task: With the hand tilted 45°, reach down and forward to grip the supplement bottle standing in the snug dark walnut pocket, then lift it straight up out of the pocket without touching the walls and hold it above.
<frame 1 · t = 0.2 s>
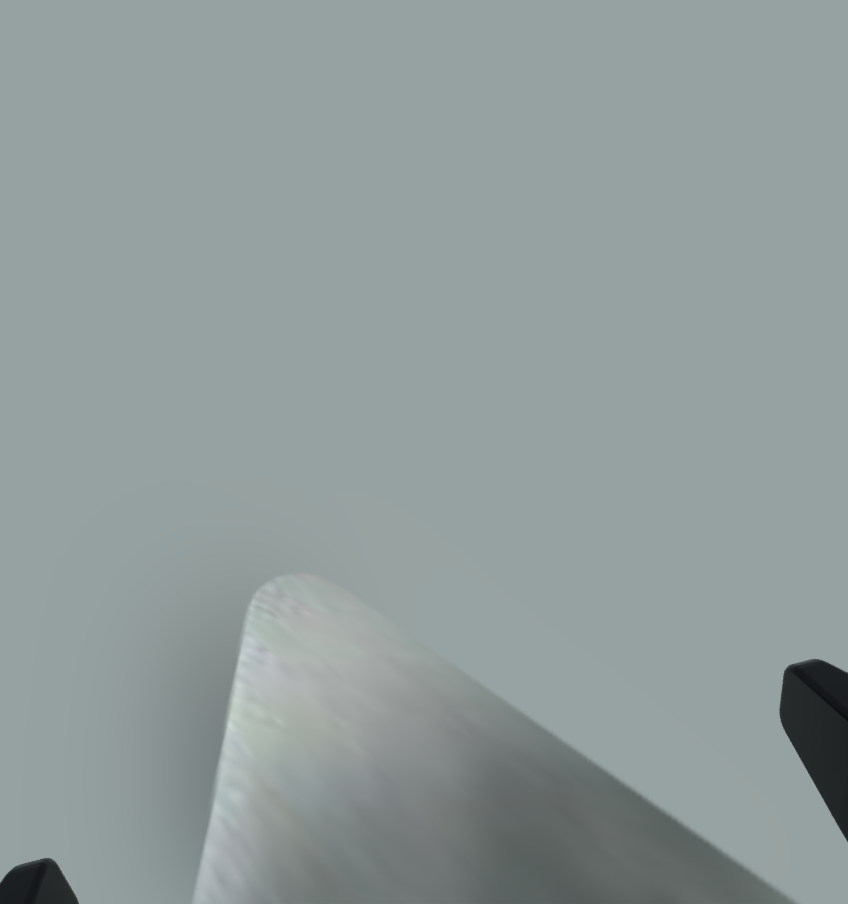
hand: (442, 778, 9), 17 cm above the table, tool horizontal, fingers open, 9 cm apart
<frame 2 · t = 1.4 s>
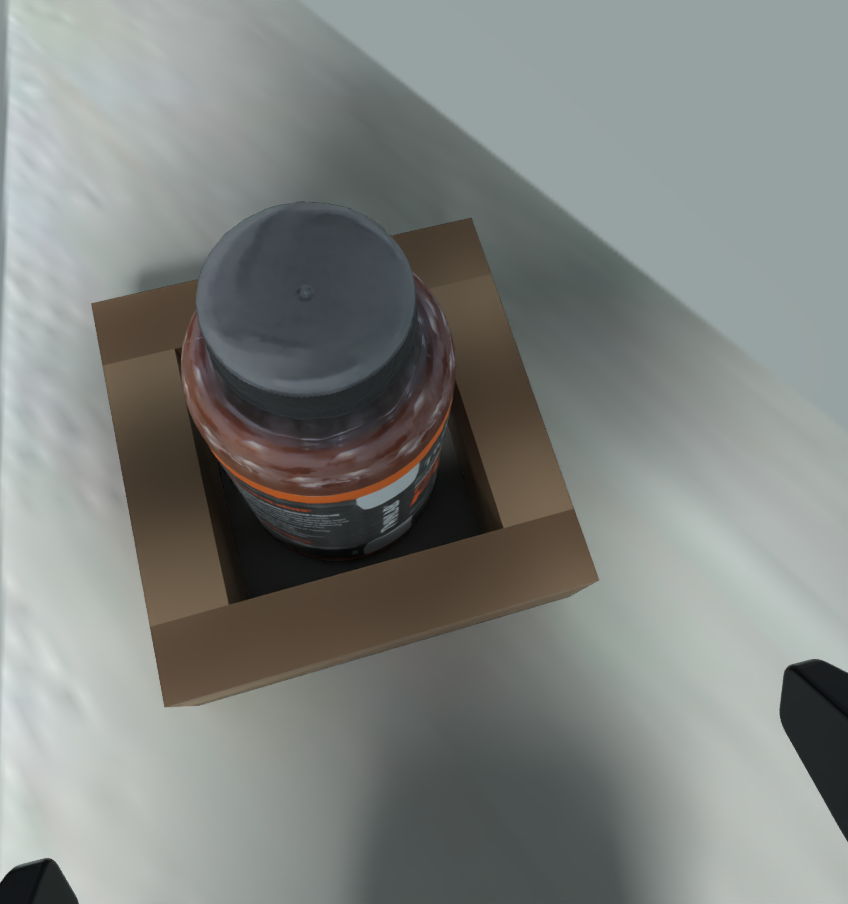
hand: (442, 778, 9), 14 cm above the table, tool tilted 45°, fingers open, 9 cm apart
walnut pocket block: (342, 471, 24), on the table
supplement bottle: (342, 473, 25), resting in walnut pocket block
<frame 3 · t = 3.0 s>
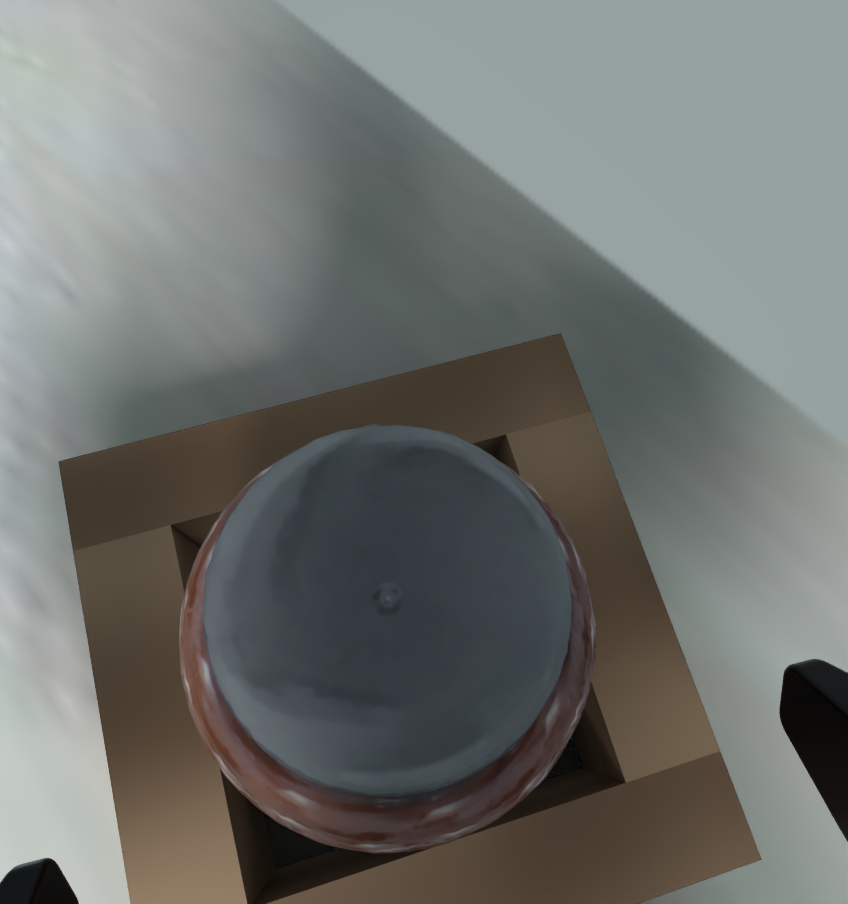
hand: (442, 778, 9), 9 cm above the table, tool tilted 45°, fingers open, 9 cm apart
walnut pocket block: (389, 657, 19), on the table
supplement bottle: (389, 658, 19), resting in walnut pocket block
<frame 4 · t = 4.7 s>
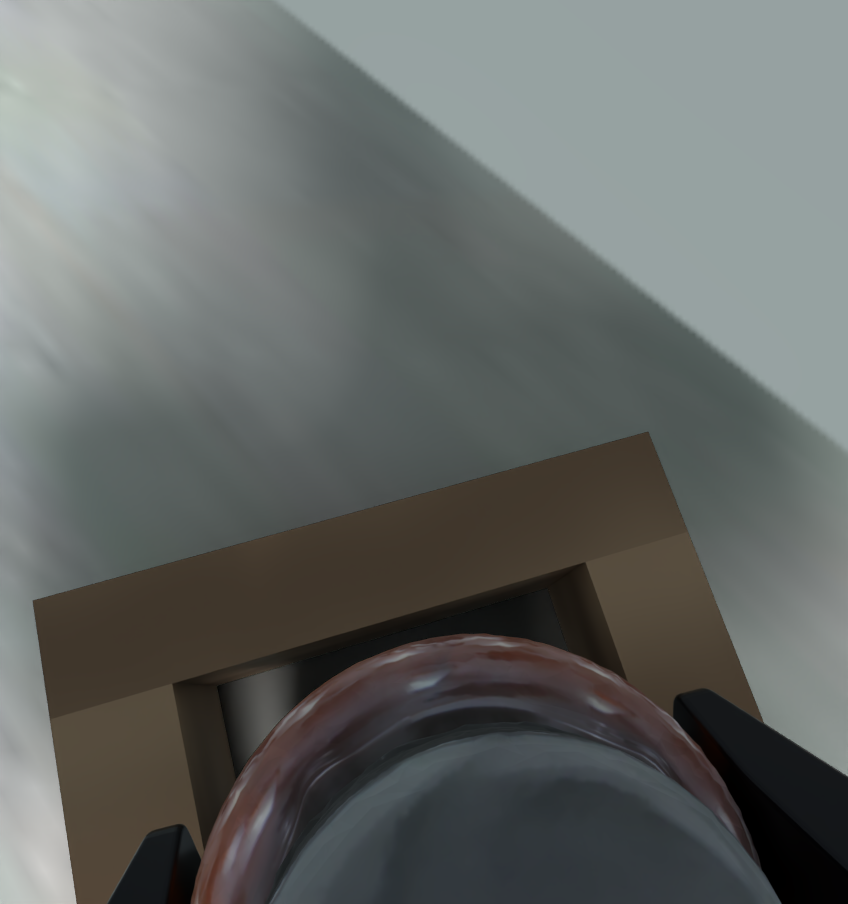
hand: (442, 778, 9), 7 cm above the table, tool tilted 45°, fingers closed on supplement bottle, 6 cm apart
walnut pocket block: (435, 815, 16), on the table
supplement bottle: (434, 813, 16), resting in walnut pocket block, touching gripper
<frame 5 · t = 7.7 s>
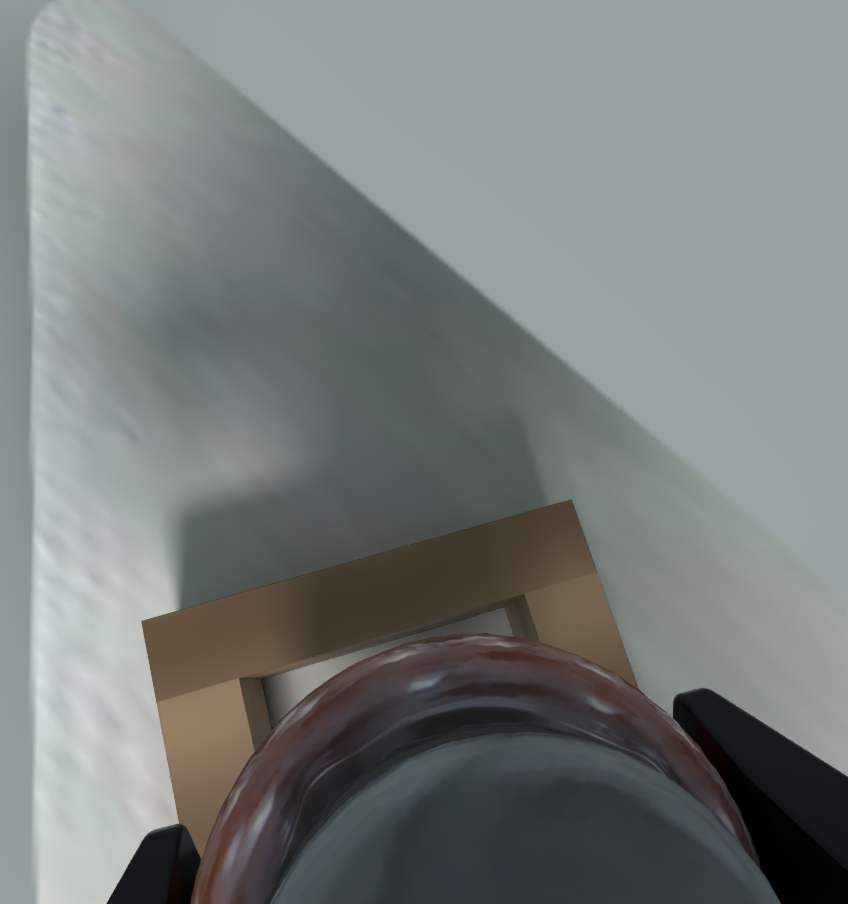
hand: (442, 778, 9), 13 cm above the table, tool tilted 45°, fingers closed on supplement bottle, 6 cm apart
walnut pocket block: (420, 772, 22), on the table
supplement bottle: (434, 812, 16), point 6 cm above the table, touching gripper
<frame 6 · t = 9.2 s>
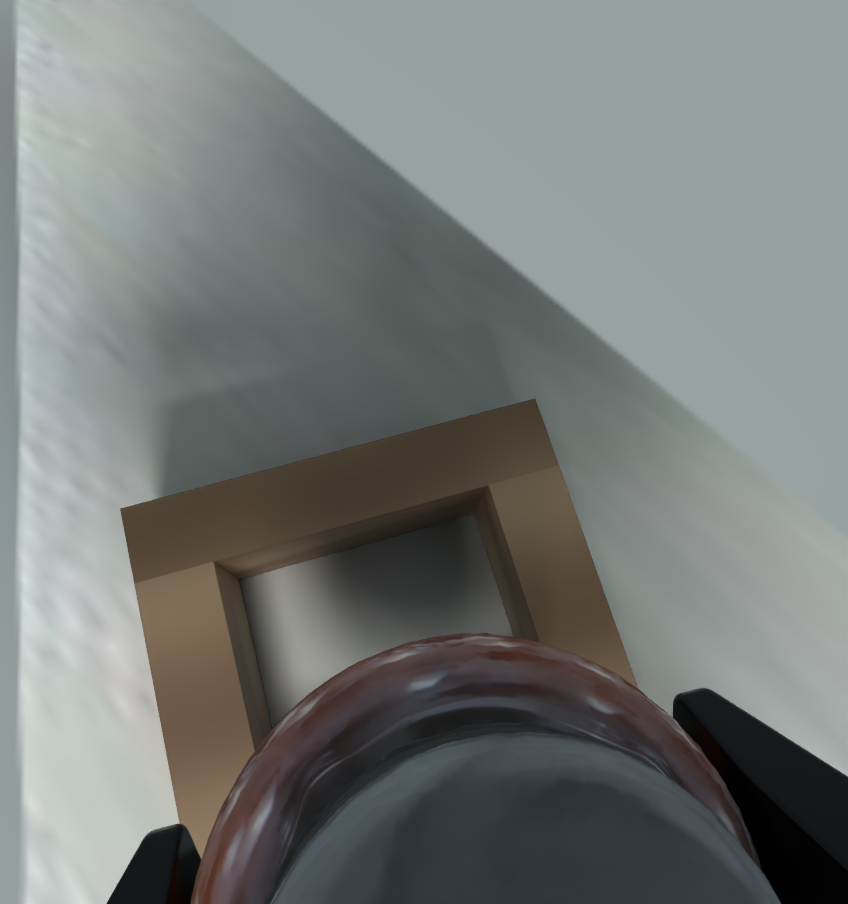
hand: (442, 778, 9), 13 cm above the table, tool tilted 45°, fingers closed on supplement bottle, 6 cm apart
walnut pocket block: (391, 667, 22), on the table
supplement bottle: (434, 812, 16), point 6 cm above the table, touching gripper
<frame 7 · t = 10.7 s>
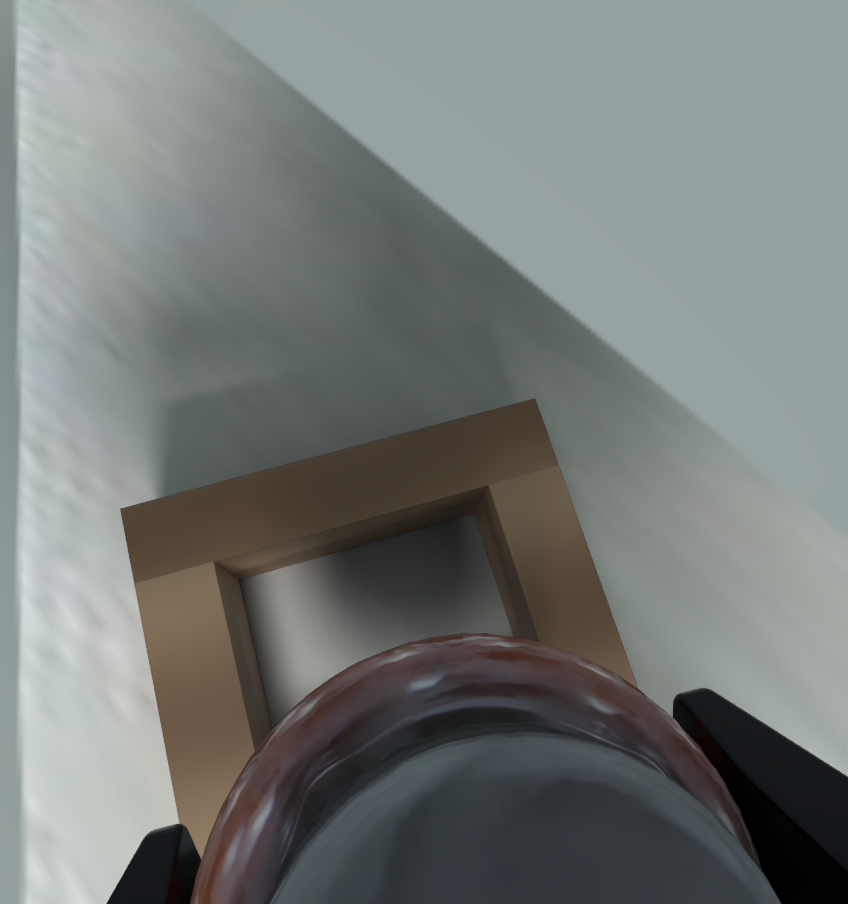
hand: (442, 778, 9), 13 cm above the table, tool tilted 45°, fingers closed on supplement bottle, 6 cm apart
walnut pocket block: (391, 667, 22), on the table
supplement bottle: (434, 812, 16), point 6 cm above the table, touching gripper
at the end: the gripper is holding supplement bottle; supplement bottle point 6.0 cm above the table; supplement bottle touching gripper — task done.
